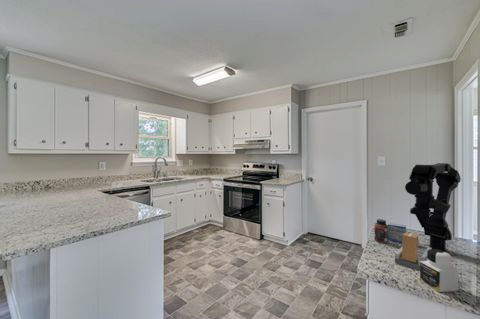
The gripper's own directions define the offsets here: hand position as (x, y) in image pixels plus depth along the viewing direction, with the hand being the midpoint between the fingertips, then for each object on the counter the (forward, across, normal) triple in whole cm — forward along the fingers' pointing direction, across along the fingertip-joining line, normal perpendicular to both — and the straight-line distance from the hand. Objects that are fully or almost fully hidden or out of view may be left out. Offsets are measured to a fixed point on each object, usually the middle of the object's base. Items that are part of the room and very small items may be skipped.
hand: (423, 227), depth 97 cm
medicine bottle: (+13, -24, -8) cm, 29 cm away
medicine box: (+13, +12, +13) cm, 22 cm away
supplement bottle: (+13, +5, +18) cm, 23 cm away
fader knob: (+11, -14, +2) cm, 17 cm away
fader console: (+13, -7, +2) cm, 15 cm away
